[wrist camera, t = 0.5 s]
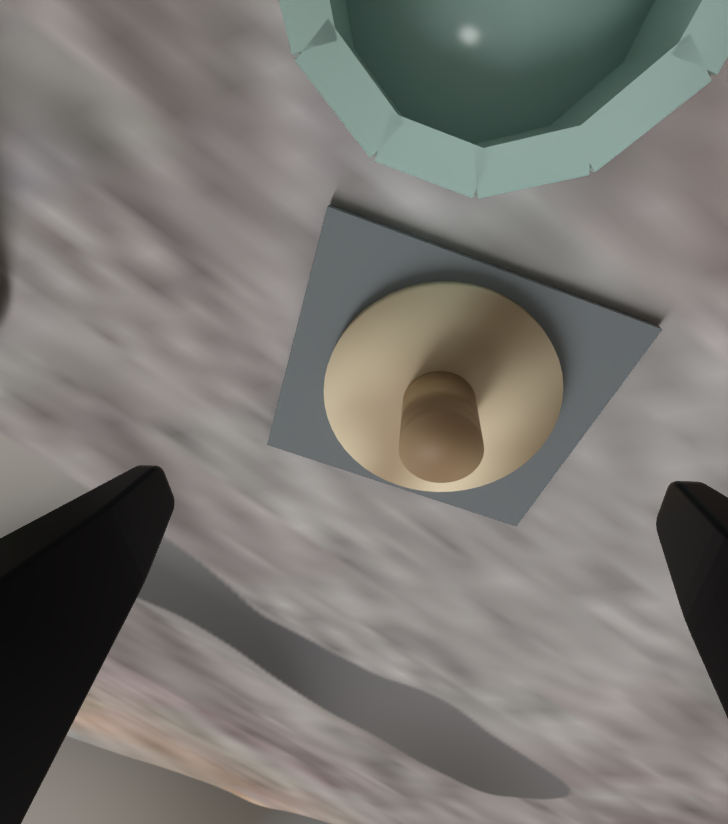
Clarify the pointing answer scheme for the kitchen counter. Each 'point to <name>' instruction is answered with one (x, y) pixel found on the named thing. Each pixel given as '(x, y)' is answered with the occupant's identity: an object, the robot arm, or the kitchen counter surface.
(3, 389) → the kitchen counter surface
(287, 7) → the bowl
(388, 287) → the mat
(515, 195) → the kitchen counter surface
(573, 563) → the kitchen counter surface
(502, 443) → the lid
